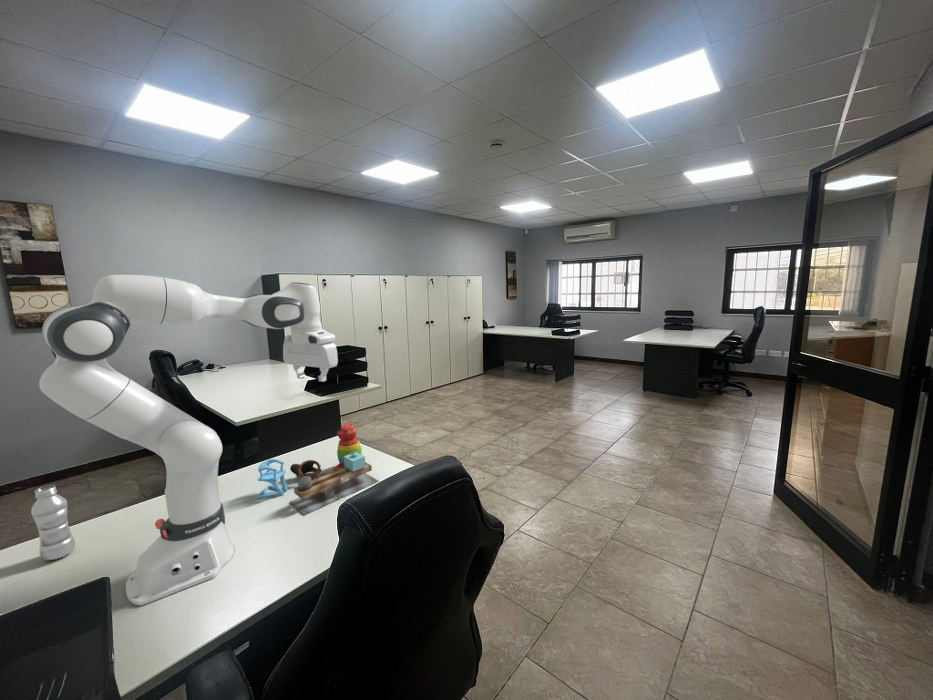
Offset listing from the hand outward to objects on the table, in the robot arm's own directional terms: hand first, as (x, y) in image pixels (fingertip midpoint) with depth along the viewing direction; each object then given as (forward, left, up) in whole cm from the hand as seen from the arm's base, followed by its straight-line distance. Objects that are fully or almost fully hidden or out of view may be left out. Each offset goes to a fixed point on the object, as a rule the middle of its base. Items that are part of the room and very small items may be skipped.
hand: (311, 379), depth 118 cm
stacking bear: (+20, +17, -43) cm, 51 cm away
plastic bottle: (-60, +31, -43) cm, 80 cm away
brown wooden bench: (+7, +4, -43) cm, 44 cm away
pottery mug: (+4, +21, -43) cm, 48 cm away
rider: (+15, +4, -39) cm, 42 cm away
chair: (-8, +20, -43) cm, 48 cm away
